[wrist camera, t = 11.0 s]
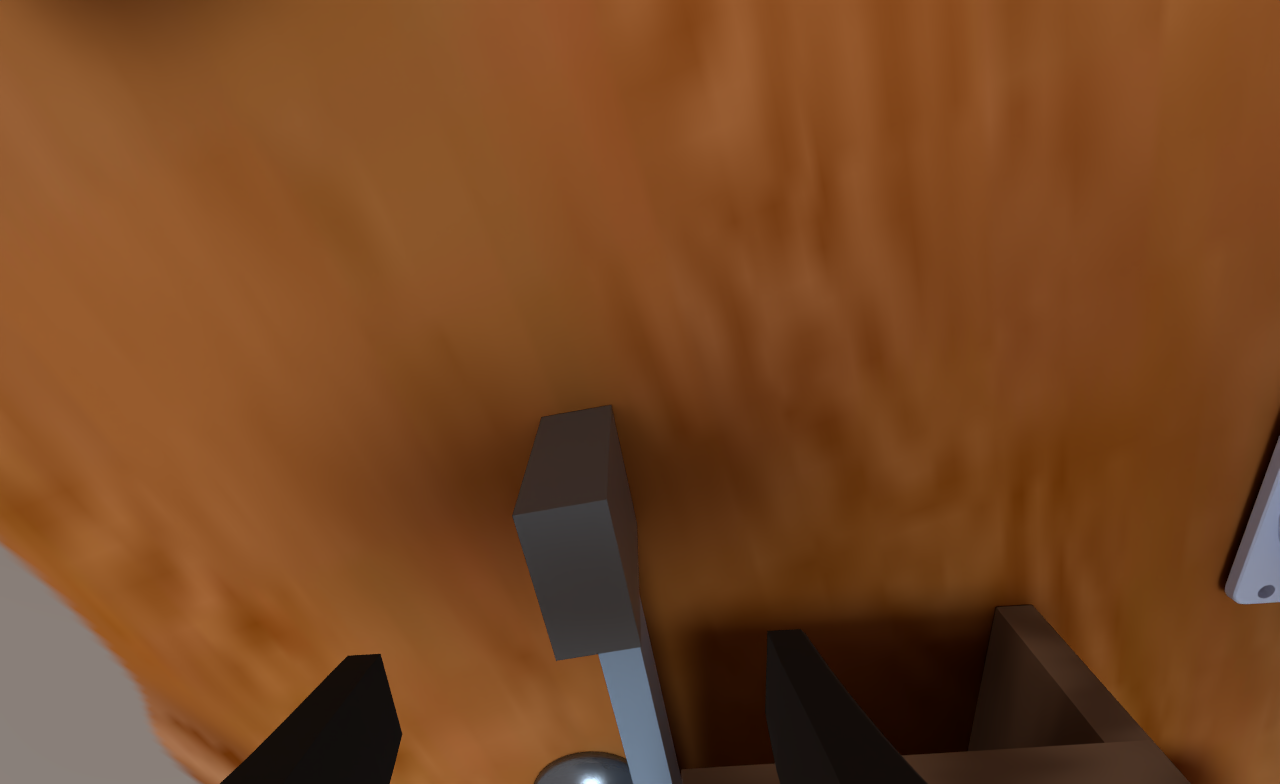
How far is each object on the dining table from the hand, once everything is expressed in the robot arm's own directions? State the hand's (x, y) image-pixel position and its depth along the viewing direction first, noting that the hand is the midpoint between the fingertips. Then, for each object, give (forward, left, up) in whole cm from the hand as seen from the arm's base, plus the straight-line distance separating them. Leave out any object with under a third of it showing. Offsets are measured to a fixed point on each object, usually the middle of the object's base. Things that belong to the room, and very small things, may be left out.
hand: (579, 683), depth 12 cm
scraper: (-1, +8, -7) cm, 11 cm away
